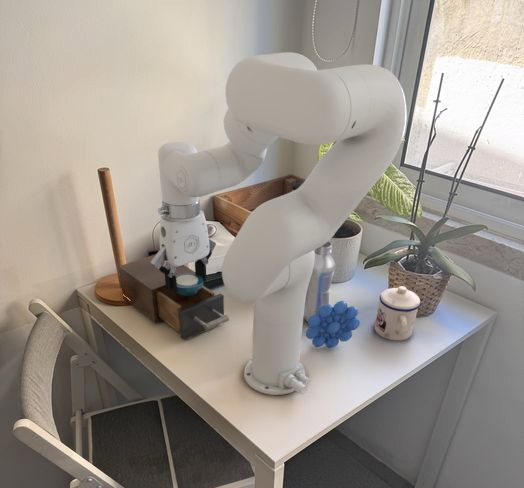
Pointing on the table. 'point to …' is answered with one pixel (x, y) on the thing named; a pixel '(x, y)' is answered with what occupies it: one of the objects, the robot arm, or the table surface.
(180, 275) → the teal white round disc
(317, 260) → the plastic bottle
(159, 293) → the drawer
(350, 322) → the blue knobbly flower
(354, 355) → the table surface
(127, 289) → the cabinet
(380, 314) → the teacup with lid
